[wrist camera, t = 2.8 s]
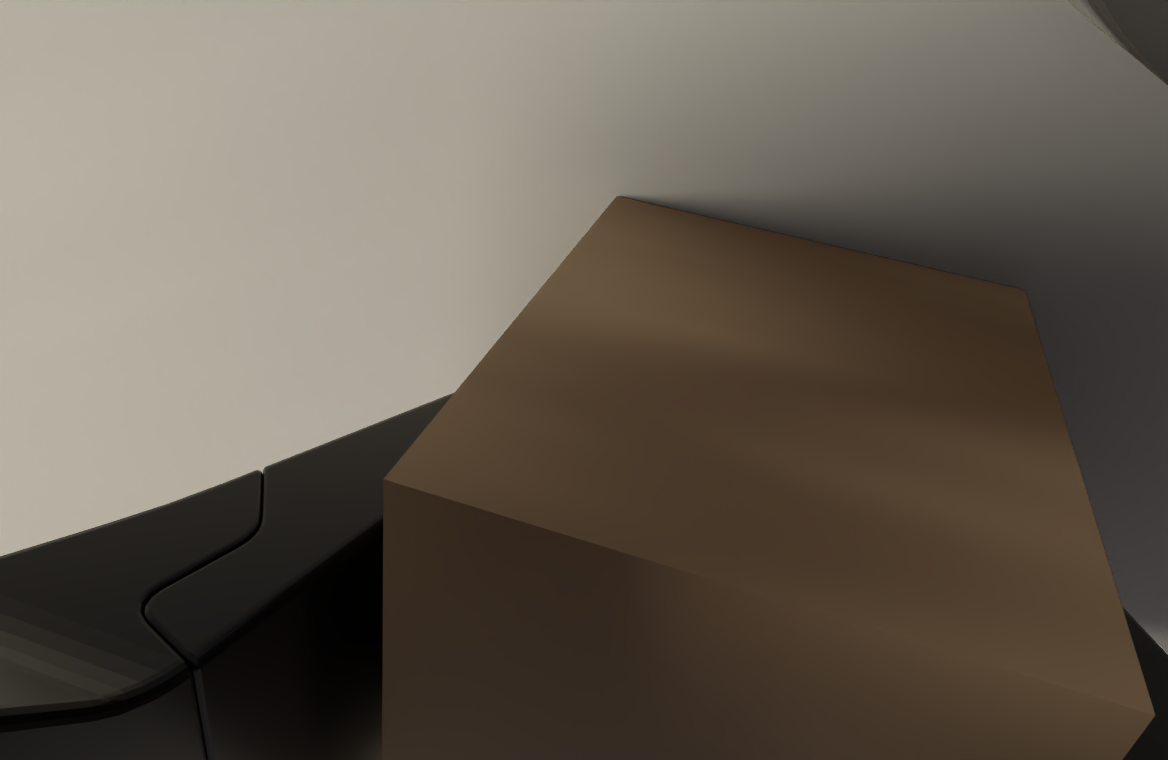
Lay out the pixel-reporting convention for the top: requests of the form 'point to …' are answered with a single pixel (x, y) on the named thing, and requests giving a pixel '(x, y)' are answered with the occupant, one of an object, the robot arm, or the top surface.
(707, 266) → the walnut block
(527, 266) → the top surface
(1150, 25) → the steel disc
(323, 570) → the robot arm
